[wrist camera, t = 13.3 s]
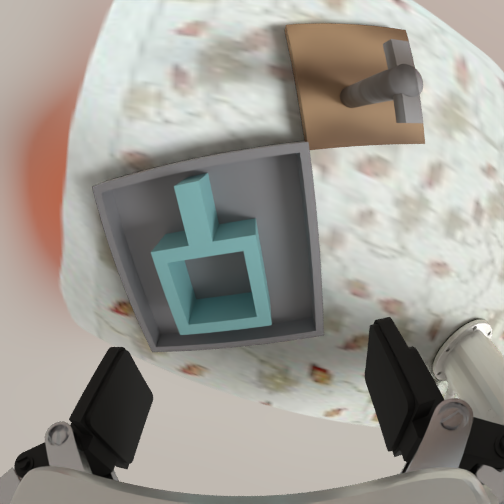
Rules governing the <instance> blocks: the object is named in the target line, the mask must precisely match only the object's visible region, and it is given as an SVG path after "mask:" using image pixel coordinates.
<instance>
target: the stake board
mask: <svg viewBox="0 0 504 504" xmlns="http://www.w3.org/2000/svg"><path fill="white" fill-rule="evenodd" d="M285 35H286V39H287V44H288V49H289V53H290V58H291V63H292V68H293V74H294V79H295V85H296V90H297V96H298V102H299V108H300V114H301V120H302V127H303V133H304V140H305V142H308V143H309V150H315V149H326V148H337V147H350V146H365V145H386V144H425V138H424V127H423V117H422V109H421V101H420V93H421V92H422V89H423V80H422V77H421V75H420V73H419V72H418V71H417V70H416V69H415V66H414V62H413V57H412V53H411V48H410V44H409V41H408V37H407V33H406V30H401V29H395V28H387V27H379V26H368V25H355V24H291V25H286V27H285Z"/></svg>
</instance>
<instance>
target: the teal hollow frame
mask: <svg viewBox="0 0 504 504" xmlns="http://www.w3.org/2000/svg"><path fill="white" fill-rule="evenodd" d="M174 189H175V193H176V197H177V201H178V205H179V209H180V213H181V217H182V221H183V225H184V229H185V231H179V232H174V233H169V234H165V235H164V236H163V238H162V239H161V240H160V241H159V243H158V244H157V245H156V246H155V248H154V249H153V250H152V251H151V255H152V258H153V261H154V264H155V267H156V270H157V273H158V276H159V279H160V282H161V285H162V287H163V290H164V293H165V296H166V299H167V301H168V304H169V307H170V309H171V312H172V315H173V317H174V320H175V323H176V325H177V328H178V330H179V333H180V335H189V334H200V333H211V332H220V331H230V330H238V329H246V328H254V327H262V326H269V325H272V320H271V307H270V297H269V291H268V286H267V280H266V274H265V268H264V262H263V257H262V251H261V245H260V240H259V234H258V228H257V223H256V218H254V219H248V220H242V221H236V222H230V223H224V224H219V222H218V217H217V213H216V208H215V204H214V199H213V194H212V190H211V185H210V180H209V175H208V173H205V174H200V175H195V176H191V177H187V178H185V179H184V180H182V181H181V182H179V183H178V184H177V185H175V186H174ZM240 251H244V256H245V261H246V266H247V271H248V275H249V280H250V285H251V290H252V292H249V293H242V294H234V295H227V296H220V297H212V298H204V299H196V297H195V294H194V290H193V287H192V284H191V281H190V277H189V274H188V271H187V267H186V264H185V260H189V259H196V258H202V257H208V256H215V255H221V254H227V253H234V252H240Z"/></svg>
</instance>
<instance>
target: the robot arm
mask: <svg viewBox="0 0 504 504" xmlns="http://www.w3.org/2000/svg"><path fill="white" fill-rule="evenodd" d="M491 337H492V328H491V326H490V324H489V323H488V322H487V321H485V320H482V319H480V320H475V321H472V322H469V323H467V324H466V325H464V326H463V327H461V328H460V329H458V330H457V331H456V332H455V333H454V334H453V335H452V336H451V337H450V338H449V339H448V340H447V341H446V342H445V343H444V344H443V346H442V347H441V349H440V350H439V352H438V353H437V355H436V357H435V360H434V363H433V373H434V375H435V376H436V378H437V379H439V380H442V381H447V382H448V389H447V391H446V393H445V395H444V398H443V396H442V394H441V392H440V390H439V389H438V387H437V385H436V383H435V381H434V379H433V377H432V376H431V374H430V372H429V370H428V369H427V367H426V365H425V363H424V361H423V360H422V358H421V356H420V355H419V353H418V351H417V350H416V348H414V347H409V348H408V346H407V344H406V343H405V341H404V339H403V337H402V336H401V334H400V332H399V331H398V329H397V327H396V325H395V324H394V322H393V321H392V319H391V318H390V317H387V318H383V319H378V320H375V322H374V324H373V325H370V330H369V341H368V351H367V360H366V368H365V381H366V384H367V387H368V390H369V393H370V396H371V399H372V402H373V405H374V408H375V411H376V414H377V418H378V421H379V424H380V427H381V430H382V433H383V437H384V440H385V444H386V447H387V449H388V451H393V454H394V457H396V456H399V455H402V456H403V459H404V461H406V463H405V465H404V468H403V469H402V471H401V473H400V474H397V475H394V476H390V477H385V478H381V479H377V480H373V481H368V482H364V483H360V484H355V485H350V486H345V487H340V488H333V489H327V490H322V491H314V492H307V493H298V494H287V495H273V496H213V495H199V494H188V493H180V492H171V491H165V490H159V489H153V488H147V487H142V486H137V485H132V484H128V483H124V482H119V480H118V478H117V476H116V474H115V472H114V467H115V466H116V467H120V468H124V469H128V466H129V464H130V463H132V461H133V459H134V455H135V452H136V449H137V446H138V443H139V440H140V436H141V434H142V431H143V428H144V425H145V422H146V419H147V416H148V413H149V410H150V407H151V404H152V402H153V394H152V392H151V390H150V389H149V387H148V385H147V383H146V382H145V380H144V378H143V377H142V375H141V373H140V371H139V370H138V368H137V366H136V364H135V362H134V360H133V359H132V357H131V355H130V353H129V352H128V351H126V349H125V348H123V347H111V348H109V349H108V351H107V353H106V354H105V356H104V358H103V359H102V361H101V363H100V364H99V366H98V368H97V370H96V371H95V373H94V375H93V377H92V378H91V380H90V382H89V384H88V385H87V387H86V389H85V390H84V392H83V394H82V396H81V398H80V400H79V401H78V403H77V405H76V407H75V409H74V411H73V413H72V414H71V416H70V418H69V420H70V421H71V422H72V423H71V425H69V424H68V423H66V422H57V423H55V424H53V425H51V426H50V427H49V428H48V430H47V432H46V434H45V443H42V444H40V445H38V446H36V447H34V448H32V449H30V450H27V451H25V452H23V453H21V454H20V455H19V456H18V457H17V459H16V461H15V469H13V468H11V469H10V470H9V471H8V472H6V473H5V474H4V475H3V476H2V477H0V504H504V356H503V355H502V354H501V352H500V351H499V350H498V349H497V347H496V346H495V345H494V344H493V342H492V341H491ZM455 393H456V394H457V396H458V397H459V399H457V398H453V397H454V395H455ZM444 399H445V400H444Z"/></svg>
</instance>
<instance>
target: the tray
mask: <svg viewBox="0 0 504 504" xmlns="http://www.w3.org/2000/svg"><path fill="white" fill-rule="evenodd" d="M205 173H208V175H209V180H210V185H211V190H212V194H213V199H214V204H215V208H216V213H217V217H218V222H219V224H224V223H230V222H236V221H242V220H248V219H254V218H256V223H257V228H258V234H259V240H260V245H261V251H262V257H263V262H264V268H265V274H266V280H267V286H268V291H269V297H270V307H271V320H272V325H269V326H262V327H254V328H246V329H238V330H230V331H220V332H211V333H200V334H189V335H180V333H179V330H178V328H177V325H176V323H175V320H174V317H173V315H172V312H171V309H170V307H169V304H168V301H167V299H166V296H165V293H164V290H163V287H162V285H161V282H160V279H159V276H158V273H157V270H156V267H155V264H154V261H153V258H152V255H151V251H152V250H153V249H154V248H155V246H156V245H157V244H158V243H159V241H160V240H161V239H162V238H163V236H164V235H165V234H169V233H174V232H179V231H185V229H184V225H183V221H182V217H181V213H180V209H179V205H178V201H177V197H176V193H175V189H174V186H175V185H177V184H178V183H179V182H181V181H182V180H184V179H185V178H187V177H191V176H195V175H200V174H205ZM92 188H93V192H94V196H95V200H96V204H97V207H98V211H99V214H100V218H101V221H102V225H103V228H104V231H105V234H106V237H107V241H108V244H109V247H110V250H111V253H112V256H113V258H114V261H115V264H116V267H117V270H118V272H119V275H120V278H121V281H122V283H123V286H124V288H125V291H126V293H127V296H128V298H129V301H130V303H131V306H132V308H133V311H134V313H135V315H136V318H137V320H138V322H139V325H140V327H141V329H142V331H143V333H144V336H145V338H146V340H147V342H148V344H149V346H150V348H151V351H152V352H172V351H191V350H206V349H219V348H231V347H241V346H250V345H259V344H267V343H275V342H283V341H290V340H297V339H303V338H310V337H316V336H322V335H324V330H323V299H322V278H321V262H320V247H319V234H318V222H317V211H316V201H315V192H314V183H313V174H312V166H311V158H310V150H309V143H308V142H305V141H298V142H290V143H282V144H274V145H267V146H260V147H254V148H247V149H241V150H235V151H229V152H224V153H219V154H213V155H208V156H203V157H198V158H194V159H189V160H184V161H180V162H176V163H171V164H167V165H163V166H159V167H155V168H151V169H147V170H143V171H139V172H136V173H132V174H128V175H125V176H121V177H118V178H114V179H111V180H108V181H105V182H102V183H100V184H98V185H95V186H93V187H92ZM185 264H186V267H187V271H188V274H189V277H190V281H191V284H192V287H193V290H194V294H195V297H196V299H204V298H212V297H220V296H227V295H234V294H242V293H249V292H252V290H251V285H250V280H249V275H248V271H247V266H246V261H245V256H244V251H240V252H234V253H227V254H221V255H215V256H208V257H202V258H196V259H189V260H185Z"/></svg>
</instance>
